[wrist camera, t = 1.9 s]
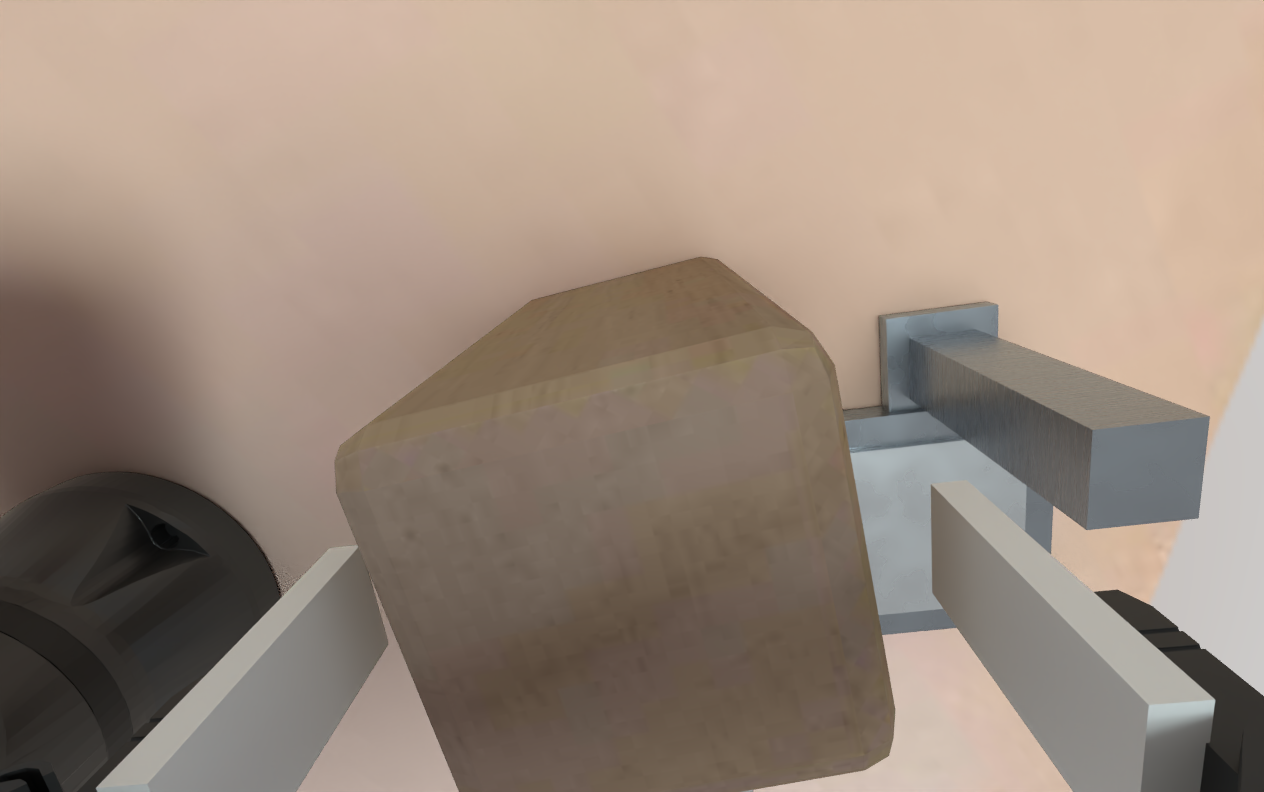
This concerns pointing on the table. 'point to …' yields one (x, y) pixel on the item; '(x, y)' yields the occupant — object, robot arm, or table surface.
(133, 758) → the robot arm
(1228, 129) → the table surface
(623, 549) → the wooden block
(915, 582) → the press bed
